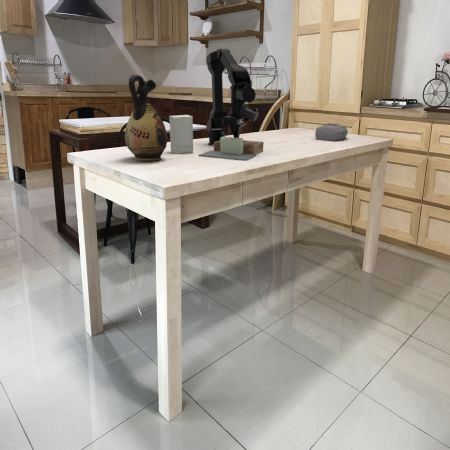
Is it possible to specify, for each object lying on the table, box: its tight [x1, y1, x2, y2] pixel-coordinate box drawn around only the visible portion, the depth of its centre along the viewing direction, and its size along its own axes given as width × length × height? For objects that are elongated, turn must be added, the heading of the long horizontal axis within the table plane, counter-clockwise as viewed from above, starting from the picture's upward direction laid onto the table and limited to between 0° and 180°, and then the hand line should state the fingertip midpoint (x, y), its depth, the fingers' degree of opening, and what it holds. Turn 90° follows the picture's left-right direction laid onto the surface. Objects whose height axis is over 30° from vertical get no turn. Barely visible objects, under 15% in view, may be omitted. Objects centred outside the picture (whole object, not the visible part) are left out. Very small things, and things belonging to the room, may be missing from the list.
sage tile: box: [220, 136, 244, 154], centre depth 171 cm, size 9×6×2 cm
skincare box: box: [169, 114, 194, 154], centre depth 172 cm, size 8×6×15 cm
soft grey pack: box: [314, 122, 348, 142], centre depth 224 cm, size 15×8×20 cm
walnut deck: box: [213, 139, 264, 156], centre depth 179 cm, size 18×12×4 cm, turn 68°
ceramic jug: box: [124, 74, 168, 162], centre depth 152 cm, size 17×15×30 cm
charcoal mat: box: [198, 150, 257, 162], centre depth 169 cm, size 20×12×1 cm, turn 68°
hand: (236, 140), depth 175 cm, fingers closed
